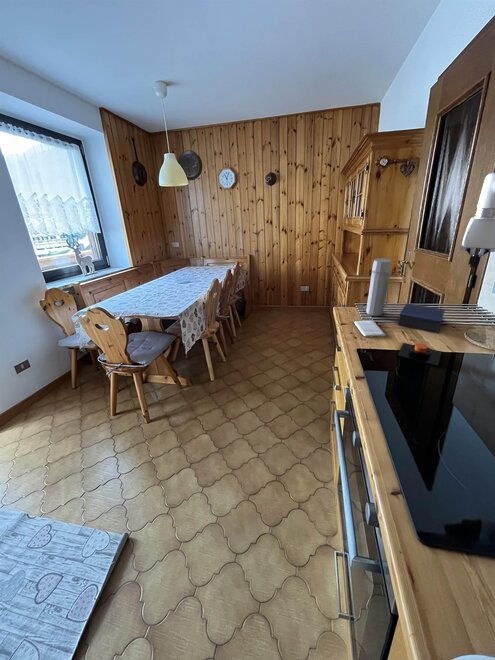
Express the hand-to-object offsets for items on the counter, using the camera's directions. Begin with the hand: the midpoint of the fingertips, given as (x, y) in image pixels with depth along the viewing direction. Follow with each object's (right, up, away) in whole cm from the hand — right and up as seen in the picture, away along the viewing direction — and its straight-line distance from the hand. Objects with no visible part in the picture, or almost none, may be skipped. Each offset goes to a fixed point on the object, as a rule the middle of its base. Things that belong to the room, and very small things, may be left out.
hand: (472, 266), depth 104 cm
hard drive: (-33, -24, +13) cm, 43 cm away
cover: (-10, -16, +14) cm, 24 cm away
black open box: (-9, -20, +17) cm, 28 cm away
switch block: (-23, -33, -6) cm, 41 cm away
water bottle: (-24, -16, +27) cm, 39 cm away
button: (-24, -30, -7) cm, 39 cm away
